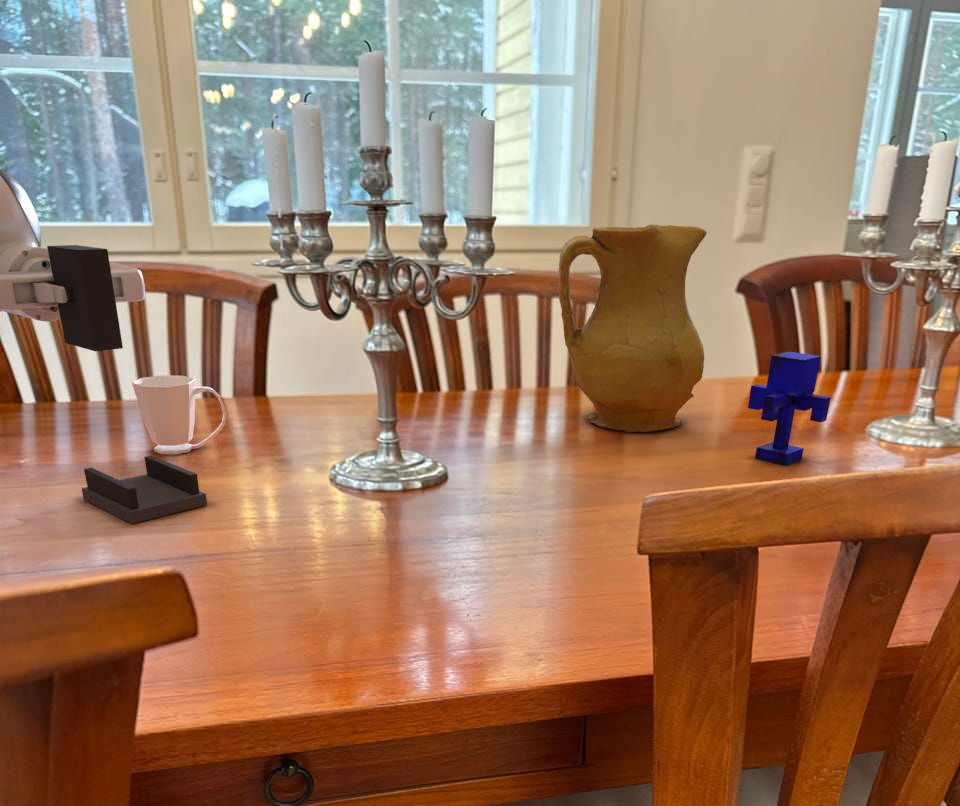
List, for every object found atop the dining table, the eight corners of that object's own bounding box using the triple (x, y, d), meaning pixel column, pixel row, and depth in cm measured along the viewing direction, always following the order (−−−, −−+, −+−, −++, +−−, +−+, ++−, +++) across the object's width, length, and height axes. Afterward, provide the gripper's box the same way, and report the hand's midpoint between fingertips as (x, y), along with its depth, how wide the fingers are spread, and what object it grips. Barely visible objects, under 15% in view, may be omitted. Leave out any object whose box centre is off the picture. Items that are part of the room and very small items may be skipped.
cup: (140, 444, 108) (129, 376, 105) (225, 438, 112) (217, 371, 108) (145, 460, 102) (133, 388, 99) (233, 452, 106) (226, 383, 102)
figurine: (799, 451, 111) (818, 350, 106) (819, 468, 104) (841, 362, 99) (738, 449, 111) (754, 349, 106) (755, 467, 104) (773, 360, 99)
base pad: (132, 524, 84) (126, 491, 82) (83, 499, 90) (77, 468, 88) (207, 505, 89) (203, 473, 87) (156, 483, 95) (152, 453, 93)
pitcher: (672, 441, 112) (688, 221, 102) (541, 427, 121) (544, 225, 111) (716, 419, 126) (734, 222, 115) (595, 408, 135) (602, 225, 125)
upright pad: (95, 351, 105) (77, 250, 100) (64, 343, 110) (46, 245, 105) (123, 348, 108) (107, 249, 103) (92, 340, 112) (76, 244, 107)
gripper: (-56, 260, 106) (-10, 268, 97) (109, 254, 119) (162, 261, 111) (-43, 316, 109) (3, 329, 100) (117, 304, 122) (169, 315, 114)
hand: (88, 293), depth 106 cm, fingers closed on upright pad, 3 cm apart
